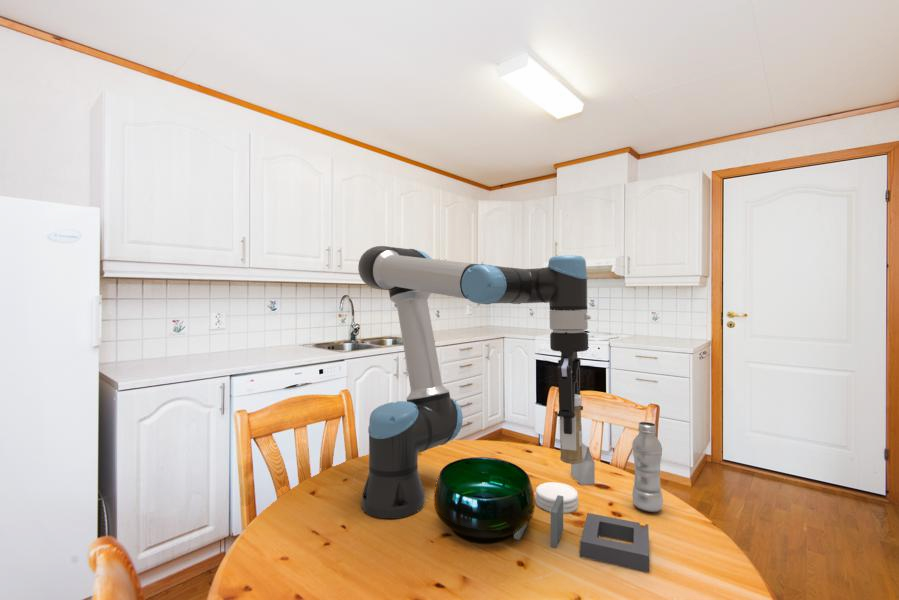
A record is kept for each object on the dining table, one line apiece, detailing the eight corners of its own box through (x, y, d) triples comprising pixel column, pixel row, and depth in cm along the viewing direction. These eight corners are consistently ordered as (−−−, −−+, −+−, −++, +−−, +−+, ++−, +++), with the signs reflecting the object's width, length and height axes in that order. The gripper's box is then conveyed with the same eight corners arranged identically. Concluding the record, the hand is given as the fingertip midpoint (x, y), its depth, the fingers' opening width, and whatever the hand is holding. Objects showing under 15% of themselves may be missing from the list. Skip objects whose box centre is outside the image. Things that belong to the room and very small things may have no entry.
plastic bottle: (650, 518, 97) (650, 429, 97) (625, 505, 103) (625, 422, 103) (669, 512, 100) (669, 425, 100) (644, 500, 106) (644, 418, 106)
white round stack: (559, 492, 111) (559, 478, 111) (587, 509, 102) (587, 494, 102) (527, 500, 106) (527, 485, 106) (553, 518, 97) (553, 503, 97)
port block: (580, 556, 82) (580, 539, 82) (587, 526, 93) (587, 510, 93) (649, 572, 78) (649, 554, 78) (648, 539, 89) (648, 522, 89)
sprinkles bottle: (587, 461, 87) (586, 395, 88) (572, 466, 85) (570, 398, 85) (570, 455, 91) (568, 391, 91) (555, 459, 89) (553, 394, 89)
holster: (513, 538, 89) (513, 504, 89) (523, 520, 96) (523, 488, 96) (556, 548, 85) (556, 513, 85) (563, 528, 93) (563, 496, 93)
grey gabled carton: (581, 485, 114) (581, 447, 114) (570, 475, 121) (571, 439, 121) (594, 484, 115) (594, 447, 115) (583, 474, 121) (583, 439, 121)
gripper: (581, 334, 79) (584, 462, 79) (592, 329, 95) (595, 435, 94) (541, 333, 82) (543, 456, 82) (558, 328, 98) (560, 431, 98)
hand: (571, 445), depth 88 cm, fingers closed on sprinkles bottle, 4 cm apart
